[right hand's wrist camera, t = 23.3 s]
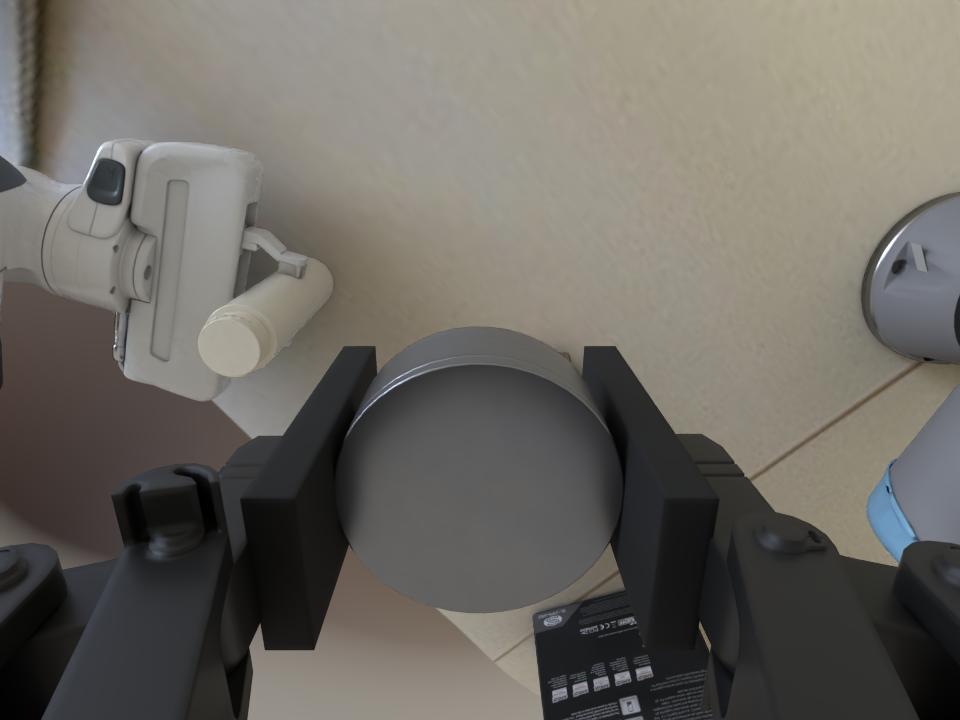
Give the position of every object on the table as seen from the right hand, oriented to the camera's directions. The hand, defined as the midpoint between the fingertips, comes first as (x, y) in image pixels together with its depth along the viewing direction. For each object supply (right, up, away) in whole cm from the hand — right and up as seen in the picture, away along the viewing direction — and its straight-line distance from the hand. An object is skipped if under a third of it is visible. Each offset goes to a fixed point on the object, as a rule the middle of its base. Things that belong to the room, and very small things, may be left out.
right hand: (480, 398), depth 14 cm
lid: (0, -1, -4) cm, 4 cm away
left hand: (-14, +6, +32) cm, 35 cm away
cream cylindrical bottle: (-16, +8, +38) cm, 41 cm away
